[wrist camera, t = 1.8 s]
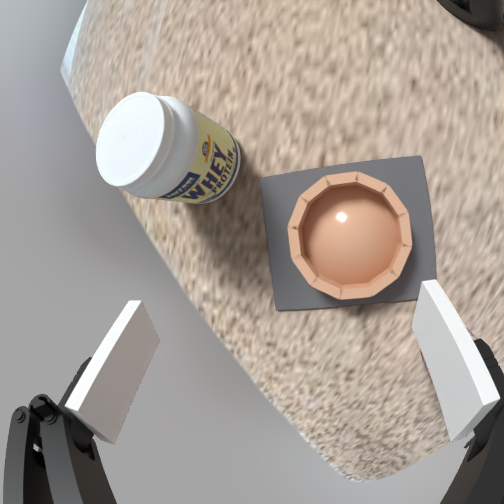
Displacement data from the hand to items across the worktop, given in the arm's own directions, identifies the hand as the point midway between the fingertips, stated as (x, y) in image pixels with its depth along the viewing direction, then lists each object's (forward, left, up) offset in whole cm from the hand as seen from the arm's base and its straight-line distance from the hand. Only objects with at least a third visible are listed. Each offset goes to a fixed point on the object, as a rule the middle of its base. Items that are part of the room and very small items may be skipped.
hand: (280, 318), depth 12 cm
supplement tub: (+16, -16, -25) cm, 34 cm away
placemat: (-3, -3, -25) cm, 25 cm away
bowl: (-3, -3, -24) cm, 25 cm away
